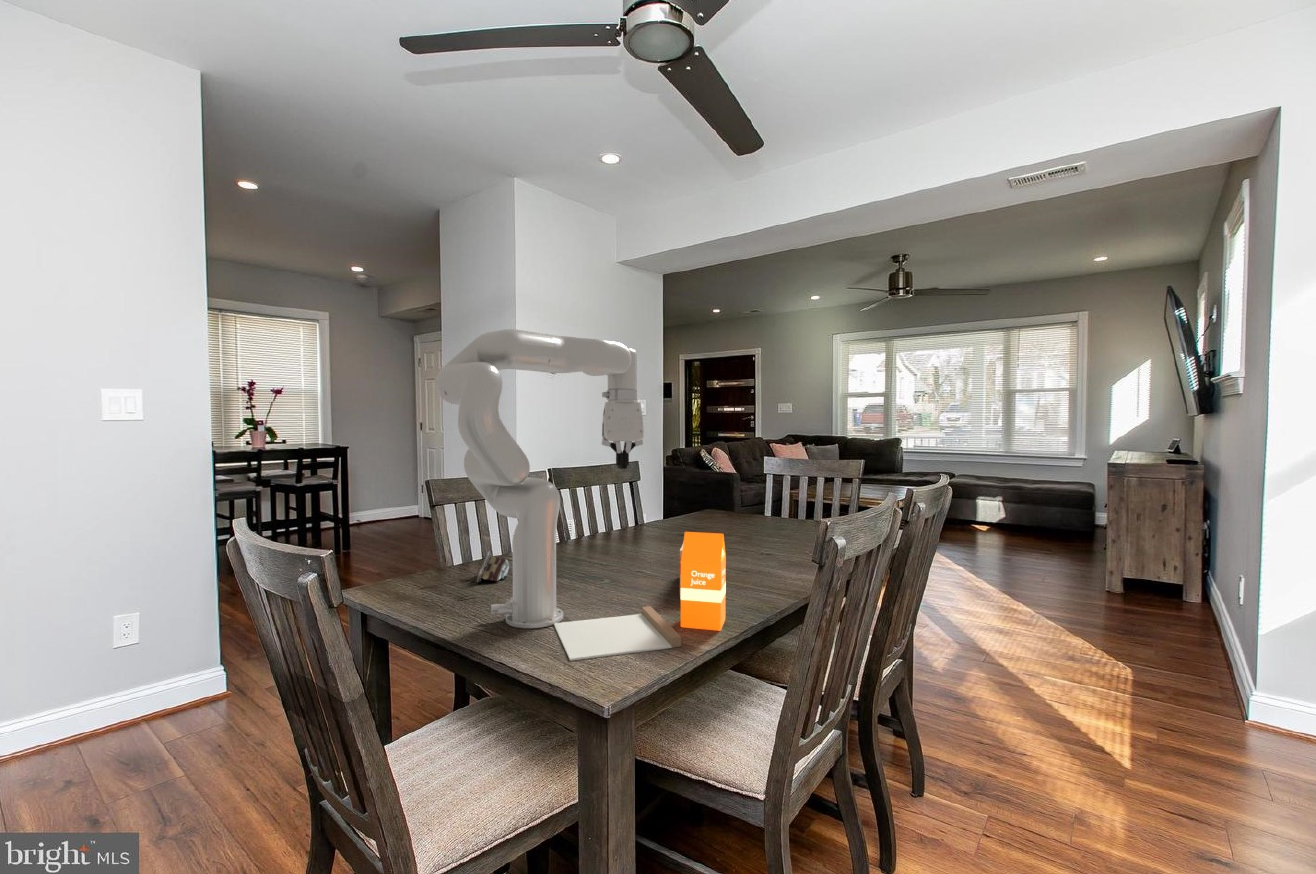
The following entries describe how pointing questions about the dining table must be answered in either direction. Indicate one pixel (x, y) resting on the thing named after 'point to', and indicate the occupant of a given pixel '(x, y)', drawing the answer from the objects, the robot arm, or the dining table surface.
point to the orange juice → (703, 581)
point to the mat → (617, 635)
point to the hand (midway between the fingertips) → (622, 468)
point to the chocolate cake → (493, 568)
